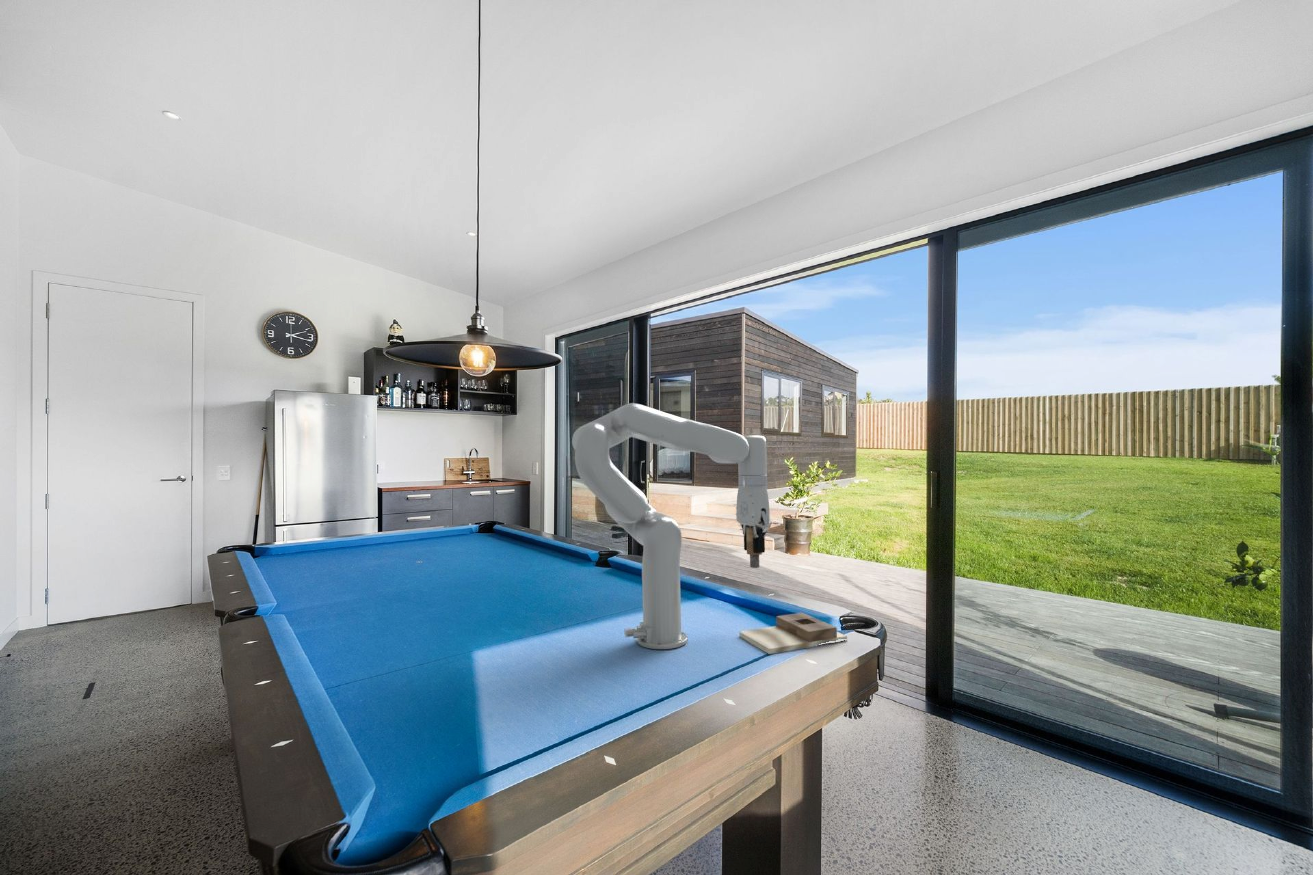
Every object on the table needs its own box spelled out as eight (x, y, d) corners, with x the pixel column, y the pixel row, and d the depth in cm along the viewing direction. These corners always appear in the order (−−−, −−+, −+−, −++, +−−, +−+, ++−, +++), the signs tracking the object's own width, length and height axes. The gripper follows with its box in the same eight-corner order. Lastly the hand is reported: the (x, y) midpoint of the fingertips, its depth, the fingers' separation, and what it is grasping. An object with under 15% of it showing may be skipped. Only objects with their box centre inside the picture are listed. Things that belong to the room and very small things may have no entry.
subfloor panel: (769, 654, 127) (768, 637, 127) (739, 636, 140) (739, 621, 140) (847, 640, 135) (846, 625, 135) (812, 625, 148) (811, 611, 148)
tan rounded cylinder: (752, 568, 143) (751, 528, 144) (744, 566, 147) (743, 526, 148) (765, 567, 145) (764, 527, 145) (757, 565, 149) (756, 525, 149)
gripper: (725, 481, 153) (726, 547, 153) (756, 483, 138) (758, 557, 137) (749, 480, 156) (750, 545, 155) (782, 482, 140) (784, 555, 140)
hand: (754, 550), depth 146 cm, fingers closed on tan rounded cylinder, 4 cm apart
